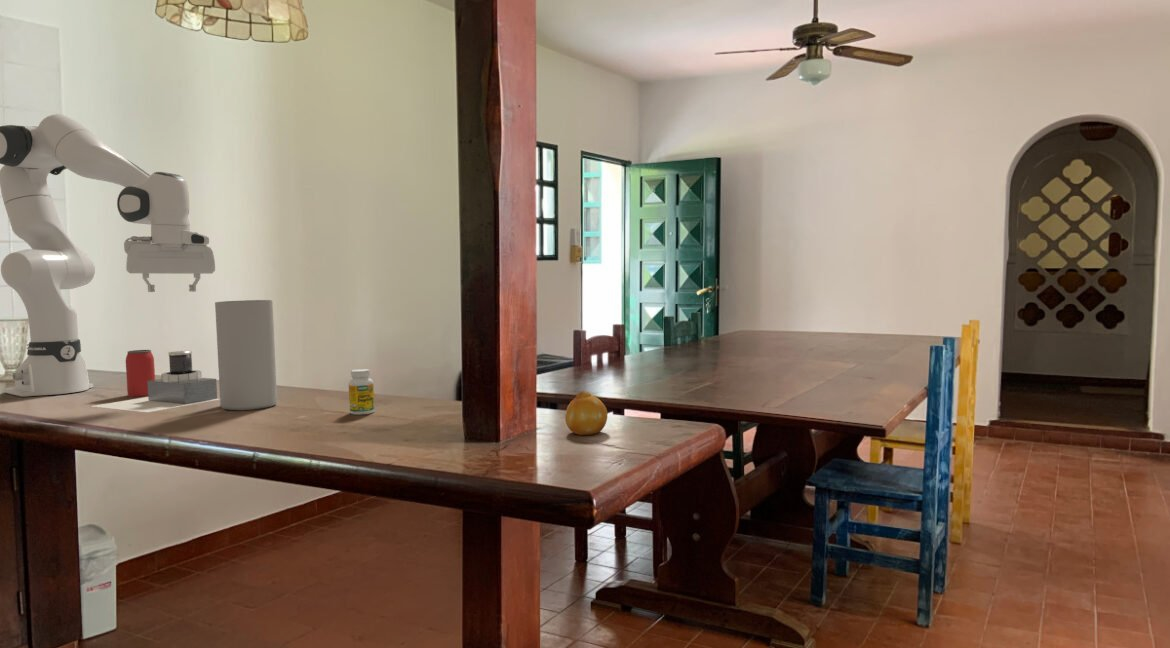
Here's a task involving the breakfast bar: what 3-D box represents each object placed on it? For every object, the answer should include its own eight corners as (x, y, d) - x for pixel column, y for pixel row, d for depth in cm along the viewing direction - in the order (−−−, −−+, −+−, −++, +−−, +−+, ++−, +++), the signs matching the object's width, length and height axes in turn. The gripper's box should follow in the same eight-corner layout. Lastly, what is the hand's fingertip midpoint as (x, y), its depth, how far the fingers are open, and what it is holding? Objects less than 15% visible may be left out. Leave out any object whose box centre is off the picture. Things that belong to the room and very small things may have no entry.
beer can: (121, 398, 215) (118, 352, 214) (142, 394, 221) (139, 349, 221) (142, 398, 213) (139, 352, 212) (162, 394, 220) (159, 349, 219)
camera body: (148, 400, 207) (146, 373, 207) (181, 395, 215) (179, 369, 215) (184, 404, 200) (183, 376, 200) (217, 398, 208) (215, 371, 208)
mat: (90, 407, 201) (90, 406, 200) (166, 395, 218) (166, 394, 218) (147, 414, 190) (147, 412, 190) (222, 400, 207) (222, 399, 207)
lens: (168, 381, 204) (166, 353, 204) (172, 379, 209) (170, 351, 209) (191, 380, 205) (189, 352, 205) (194, 377, 210) (193, 350, 210)
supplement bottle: (367, 409, 190) (365, 367, 189) (379, 412, 186) (377, 369, 185) (345, 413, 186) (343, 370, 185) (357, 415, 182) (355, 372, 181)
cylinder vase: (223, 404, 202) (218, 301, 200) (278, 400, 205) (273, 299, 204) (217, 412, 190) (211, 303, 188) (275, 408, 194) (270, 301, 192)
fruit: (556, 417, 162) (565, 385, 158) (594, 417, 165) (604, 386, 161) (566, 446, 156) (576, 413, 151) (607, 446, 158) (617, 413, 154)
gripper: (124, 235, 203) (126, 292, 204) (215, 237, 213) (216, 291, 214) (123, 236, 208) (125, 291, 209) (212, 238, 219) (213, 290, 220)
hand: (172, 291), depth 212 cm, fingers open, 8 cm apart
